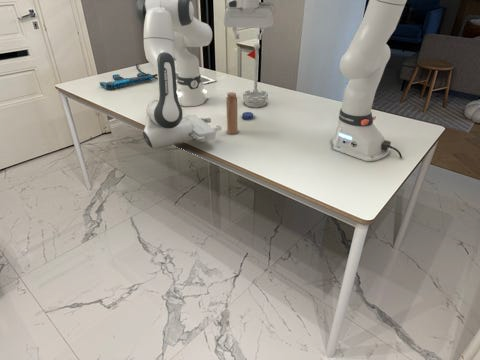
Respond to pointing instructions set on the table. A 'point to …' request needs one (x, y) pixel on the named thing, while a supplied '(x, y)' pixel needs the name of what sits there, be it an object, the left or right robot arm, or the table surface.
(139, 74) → the submachine gun
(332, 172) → the table surface
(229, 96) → the jar
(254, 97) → the flag stand
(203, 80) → the tablet
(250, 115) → the lid
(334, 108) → the table surface
